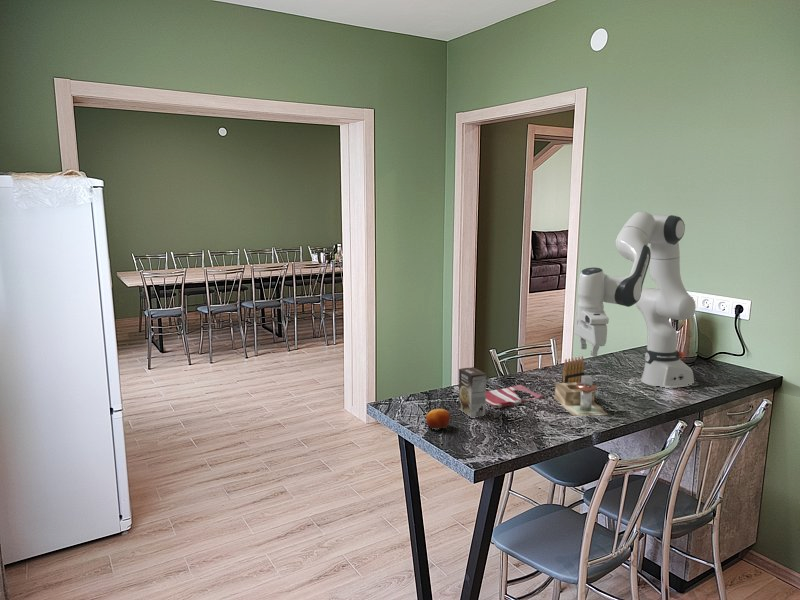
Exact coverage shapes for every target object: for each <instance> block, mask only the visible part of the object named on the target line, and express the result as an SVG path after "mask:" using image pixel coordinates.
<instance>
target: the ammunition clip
mask: <svg viewBox="0 0 800 600" xmlns="http://www.w3.org/2000/svg"><path fill="white" fill-rule="evenodd" d="M584 368H585V365H584V356H582V355H581V358H580V356H578V358H577V357H576V356H575V358H574V357H572V358H571V359H570V357H569V358H568V359H567V358H565V360H564V363H563V370H562V376H561V383H577V382H581V376H585V372H584Z"/></svg>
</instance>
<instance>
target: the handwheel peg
mask: <svg viewBox="0 0 800 600" xmlns="http://www.w3.org/2000/svg"><path fill="white" fill-rule="evenodd" d="M576 388H577V389H579V390H581V392H580V410H582V411H591V408H592V391H596V390H597V389H598V385H597V383H595V382H593V377H592V376H591V375H589V374H588V375H585V374H584V376H581V382H578V383H577V384H576Z"/></svg>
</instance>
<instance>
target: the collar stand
mask: <svg viewBox="0 0 800 600" xmlns="http://www.w3.org/2000/svg"><path fill="white" fill-rule="evenodd" d="M577 383H578V382H577ZM577 383H562V382H556V383H555V391H554V394H552V397H554V399H555V400H556V401H557V402H558V403H559V404H561V406H562V407H563V408H564V409H565V410H566V411H567V412H568V413H569V414H570V415H572V416H573V417H576V416H577V417H579V416H602V415H603V416H604V415H605V416H608V415H609V413H607V412H606V411H605V410H604V409H603V408H602V407H601V406H600V405H599V404H597V403H596V402H595V395H596V392H595V391H596V390H594V391H592V408H591V411H582V410H580V392H581V390H579V389H577V388H576V384H577Z"/></svg>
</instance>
